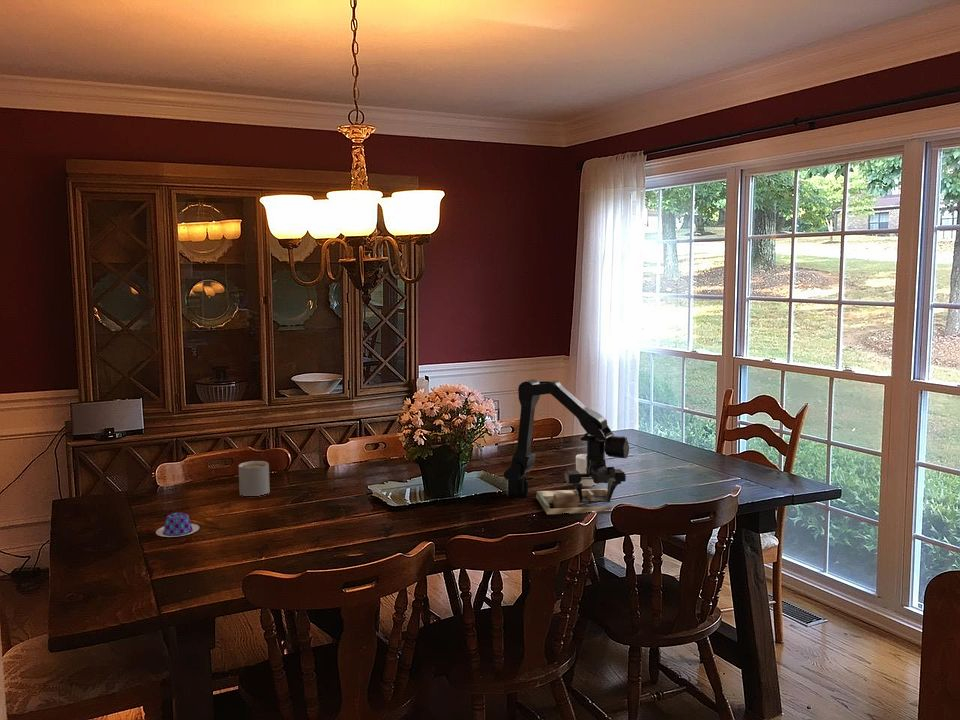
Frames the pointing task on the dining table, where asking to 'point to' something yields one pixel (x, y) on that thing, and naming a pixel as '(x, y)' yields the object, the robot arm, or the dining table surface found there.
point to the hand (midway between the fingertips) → (594, 502)
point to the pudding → (177, 526)
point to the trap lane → (587, 496)
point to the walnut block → (566, 500)
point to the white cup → (583, 469)
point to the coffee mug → (254, 478)
